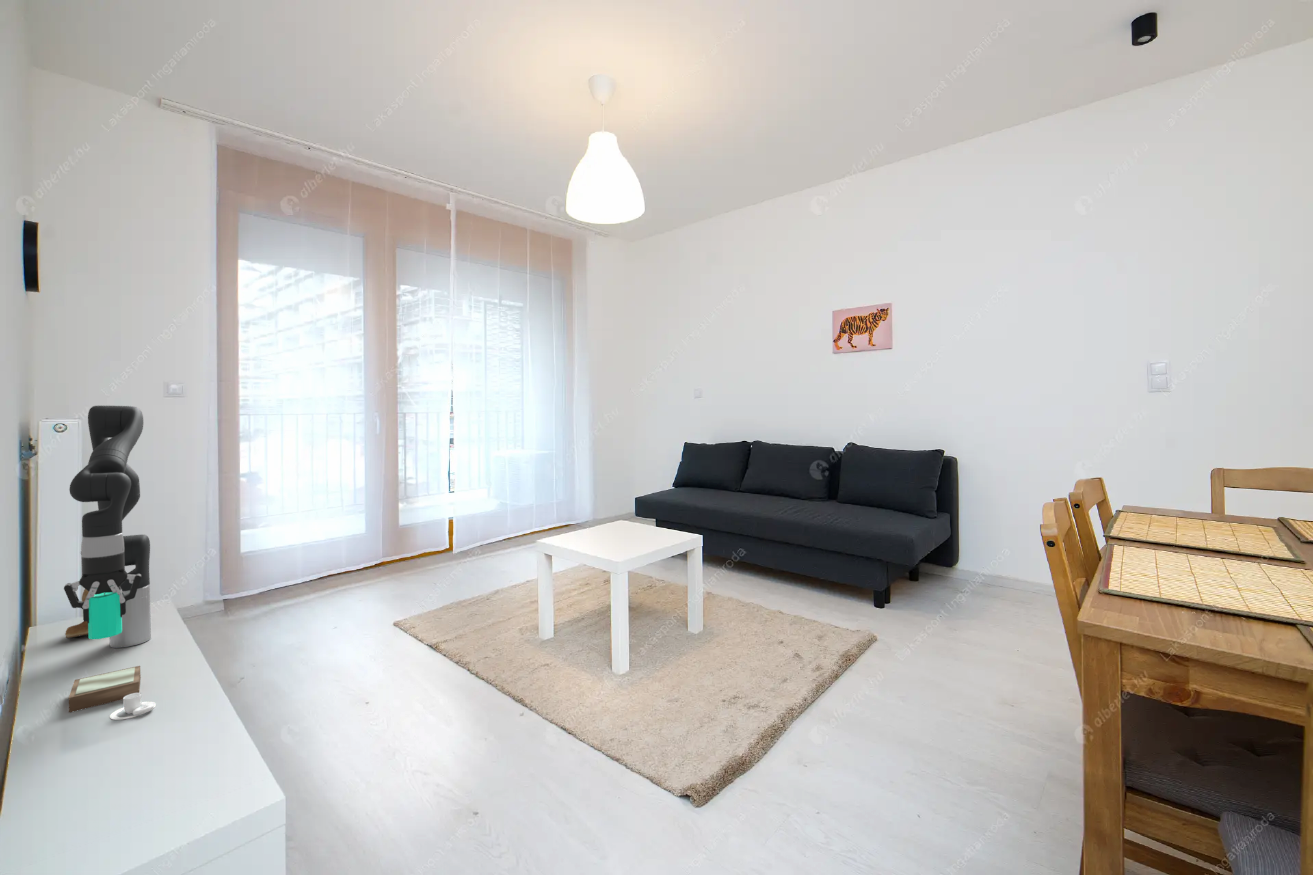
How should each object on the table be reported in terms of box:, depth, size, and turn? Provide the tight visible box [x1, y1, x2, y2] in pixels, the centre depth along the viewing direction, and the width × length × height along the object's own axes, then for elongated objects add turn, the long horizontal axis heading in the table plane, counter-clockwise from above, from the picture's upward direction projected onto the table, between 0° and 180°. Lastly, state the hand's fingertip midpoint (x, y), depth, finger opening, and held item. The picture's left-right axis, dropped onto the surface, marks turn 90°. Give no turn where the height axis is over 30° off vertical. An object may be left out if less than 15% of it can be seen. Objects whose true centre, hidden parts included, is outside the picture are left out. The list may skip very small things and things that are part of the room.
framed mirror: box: [68, 665, 142, 713], centre depth 136 cm, size 12×12×4 cm
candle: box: [87, 592, 122, 640], centre depth 136 cm, size 6×6×12 cm
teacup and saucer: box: [109, 692, 157, 721], centre depth 129 cm, size 9×8×4 cm
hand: (105, 619), depth 136 cm, fingers closed on candle, 4 cm apart
